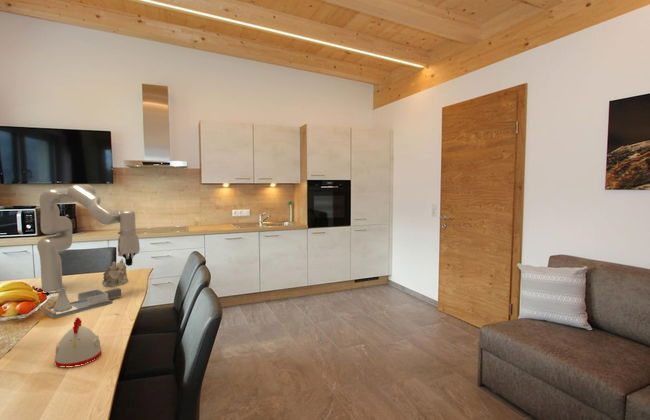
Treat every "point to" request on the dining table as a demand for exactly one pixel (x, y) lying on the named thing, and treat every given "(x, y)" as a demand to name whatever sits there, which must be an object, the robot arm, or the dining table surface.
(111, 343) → the dining table surface
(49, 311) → the base board
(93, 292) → the housing
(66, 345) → the kitchen timer
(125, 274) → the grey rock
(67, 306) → the flask
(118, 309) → the dining table surface
